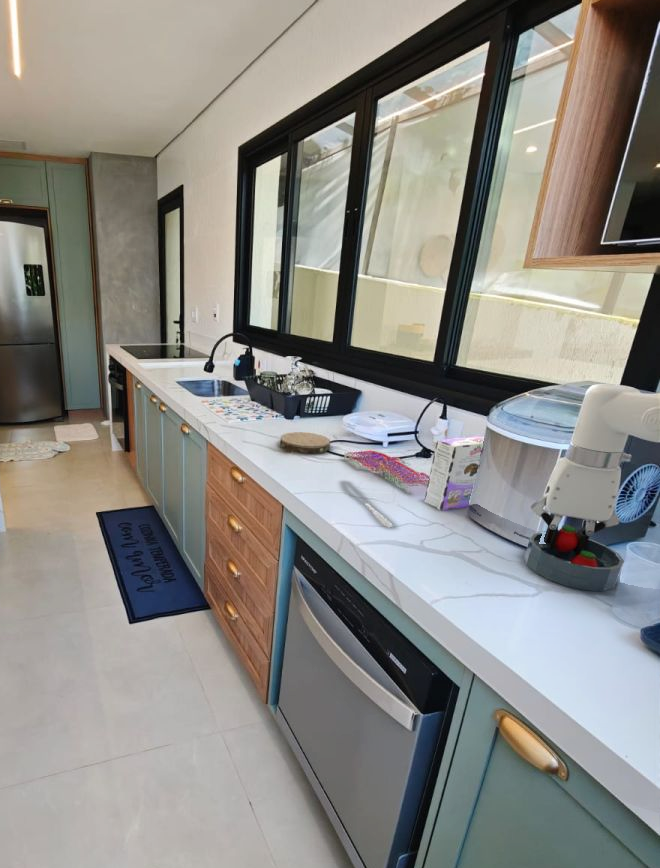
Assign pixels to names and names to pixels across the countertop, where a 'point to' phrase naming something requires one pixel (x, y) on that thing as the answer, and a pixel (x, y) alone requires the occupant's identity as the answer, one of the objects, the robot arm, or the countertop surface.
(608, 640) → the countertop surface
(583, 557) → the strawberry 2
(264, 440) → the countertop surface
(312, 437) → the wooden disc
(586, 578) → the bowl
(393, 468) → the speckled fish figure
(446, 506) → the candy box
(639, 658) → the countertop surface
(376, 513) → the butter knife
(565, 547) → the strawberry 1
